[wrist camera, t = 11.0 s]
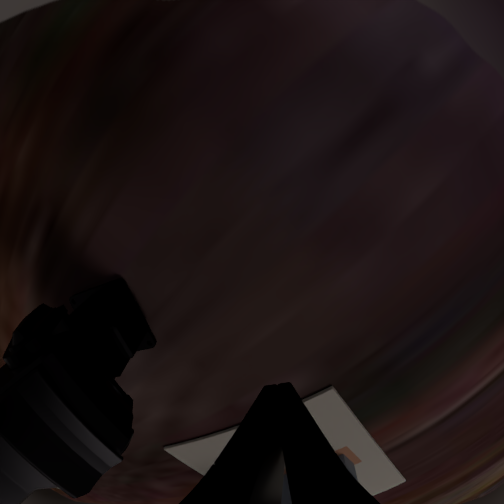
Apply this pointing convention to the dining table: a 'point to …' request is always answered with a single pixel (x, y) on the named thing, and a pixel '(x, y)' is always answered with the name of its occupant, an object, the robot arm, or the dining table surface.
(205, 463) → the t mat
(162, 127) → the dining table surface
